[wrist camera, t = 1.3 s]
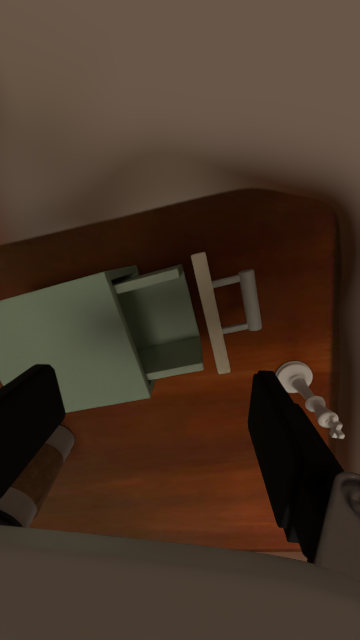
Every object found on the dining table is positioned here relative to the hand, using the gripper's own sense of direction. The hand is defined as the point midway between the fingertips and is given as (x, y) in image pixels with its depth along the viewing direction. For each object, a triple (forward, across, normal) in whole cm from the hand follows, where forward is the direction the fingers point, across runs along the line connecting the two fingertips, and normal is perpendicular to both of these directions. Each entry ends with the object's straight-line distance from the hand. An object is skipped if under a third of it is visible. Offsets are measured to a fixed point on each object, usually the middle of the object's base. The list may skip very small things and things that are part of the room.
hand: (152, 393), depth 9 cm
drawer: (+17, +1, 0) cm, 17 cm away
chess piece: (+18, -16, +11) cm, 27 cm away
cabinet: (+18, +11, +3) cm, 21 cm away
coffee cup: (+18, +22, +25) cm, 38 cm away
